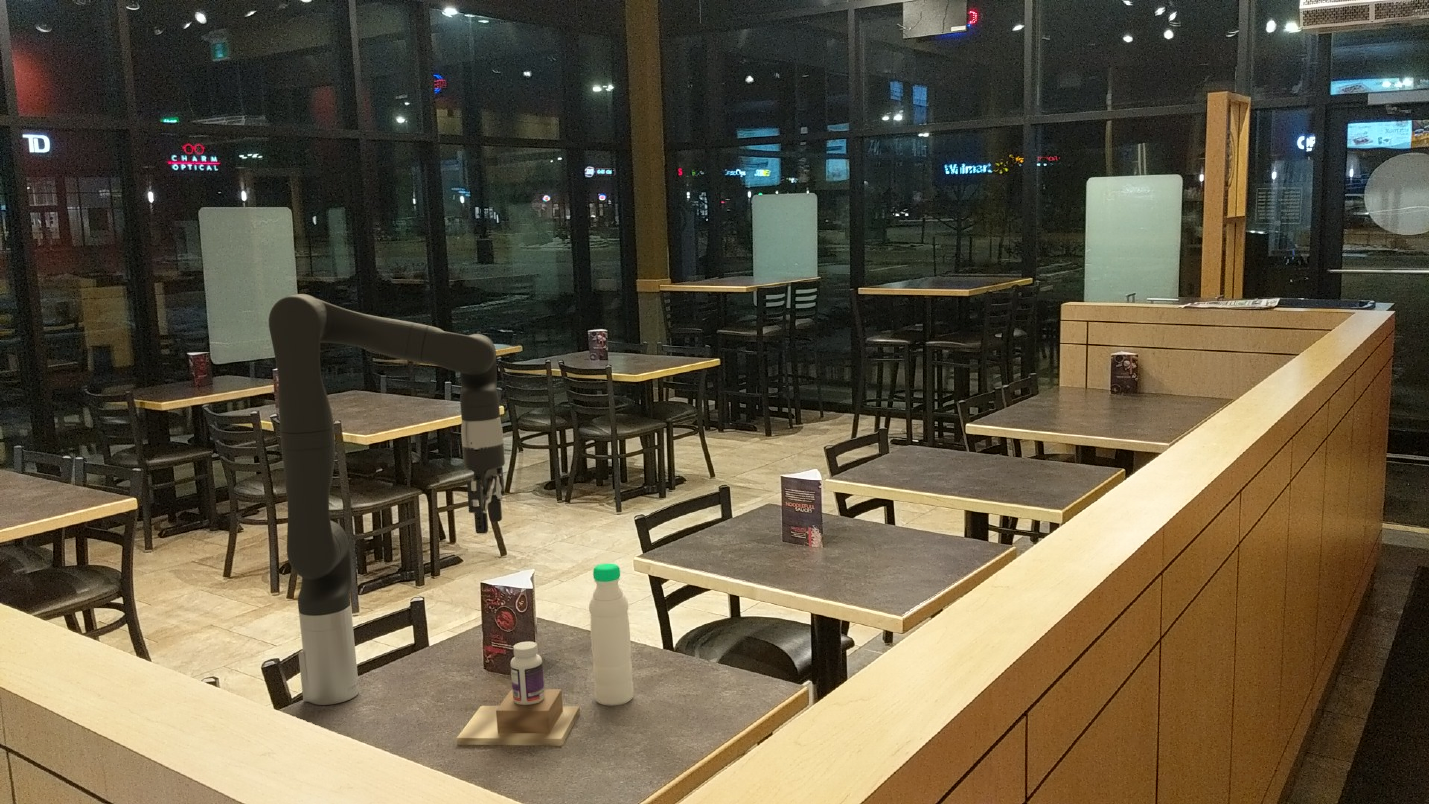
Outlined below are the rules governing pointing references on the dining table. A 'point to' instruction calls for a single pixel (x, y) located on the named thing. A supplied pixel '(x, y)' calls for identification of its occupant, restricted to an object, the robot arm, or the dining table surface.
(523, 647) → the pill bottle
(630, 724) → the dining table surface
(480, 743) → the beech board
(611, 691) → the water bottle
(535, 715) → the walnut block
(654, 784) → the dining table surface
